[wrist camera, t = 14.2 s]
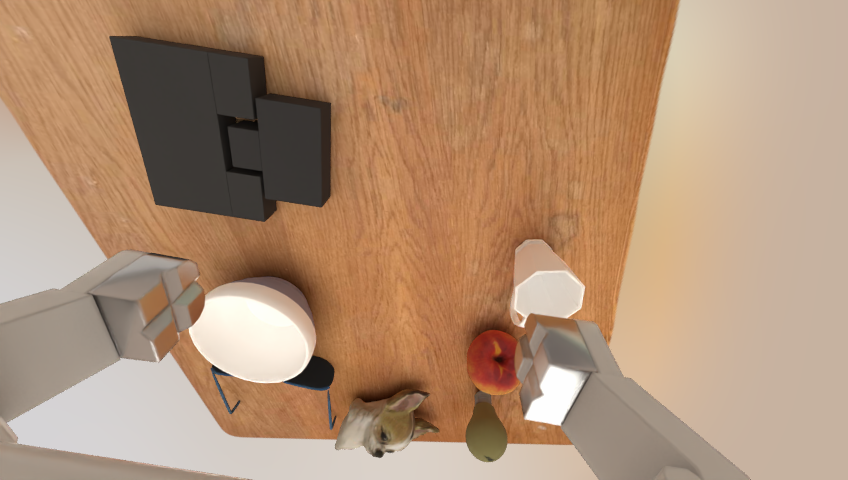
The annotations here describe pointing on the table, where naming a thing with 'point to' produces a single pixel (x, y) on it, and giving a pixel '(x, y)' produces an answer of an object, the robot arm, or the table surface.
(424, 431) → the ceramic sculpture
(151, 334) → the robot arm
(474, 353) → the fruit
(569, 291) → the cup
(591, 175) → the table surface
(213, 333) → the bowl
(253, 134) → the black stepped block
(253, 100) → the base pad
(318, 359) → the sunglasses
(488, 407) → the light bulb
